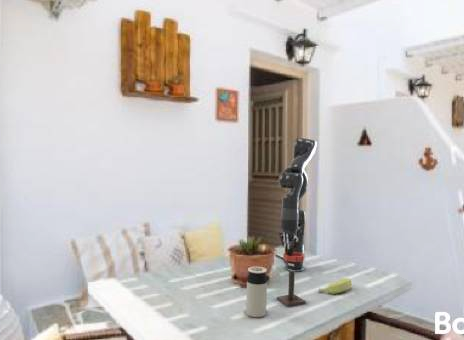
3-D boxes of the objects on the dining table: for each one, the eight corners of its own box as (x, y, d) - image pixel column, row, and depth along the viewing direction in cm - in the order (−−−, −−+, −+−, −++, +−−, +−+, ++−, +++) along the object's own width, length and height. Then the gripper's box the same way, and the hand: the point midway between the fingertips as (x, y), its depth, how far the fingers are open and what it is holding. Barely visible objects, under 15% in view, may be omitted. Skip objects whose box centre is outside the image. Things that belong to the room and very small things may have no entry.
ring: (279, 257, 169) (279, 252, 169) (296, 255, 174) (296, 251, 173) (291, 262, 162) (291, 257, 162) (308, 260, 166) (308, 255, 166)
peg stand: (276, 299, 170) (277, 269, 169) (293, 296, 174) (294, 267, 174) (287, 307, 162) (288, 275, 161) (305, 303, 166) (306, 273, 166)
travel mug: (251, 319, 149) (252, 273, 148) (243, 311, 156) (244, 267, 156) (269, 316, 152) (270, 271, 151) (260, 308, 160) (262, 265, 159)
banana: (359, 276, 182) (323, 285, 175) (362, 288, 182) (326, 298, 174) (342, 274, 195) (308, 283, 187) (345, 286, 194) (311, 295, 187)
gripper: (305, 219, 166) (304, 259, 167) (288, 215, 178) (287, 252, 179) (291, 220, 162) (290, 261, 163) (274, 215, 174) (273, 253, 175)
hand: (288, 256), depth 171 cm, fingers closed on ring, 1 cm apart
